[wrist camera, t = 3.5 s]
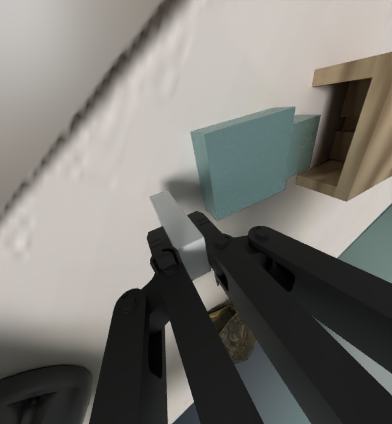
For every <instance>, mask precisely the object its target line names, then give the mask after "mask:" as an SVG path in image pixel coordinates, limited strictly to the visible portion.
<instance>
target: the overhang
mask: <svg viewBox="0 0 392 424" xmlns="http://www.w3.org/2000/svg"><path fill="white" fill-rule="evenodd" d="M345 81H350V82H349V86H348V90H347V93H346V97H345V101H344V105H343V108H342V112H341V116H346V120H345V123H344V127H343V129H342V130H339V131H337V132H336V134H335V138H334V142H333V145H332V149H331V153H330V157H329V158H330V159H332V160H330V161H328V162H326V163H323V164H321V165H319V166H317V167H314V168H312V169H310V170H308V171H306V172H303V173H301V174H299V175H297V180H296V184H297V185H300V186H303V187H306V188H309V189H312V190H314V191H317V192H320V193H323V194H326V195H329V196H332V197H335V198H338V199H340V200H343V201H346V202H347V201H348V200H350V199H352V198H354V197H355V196H357V195H359V194H361V193H362V192H364V191H366V190H368V189H370V188H371V187H373V186H375V185H377V184H378V183H380V182H382V181H384V180H385V179H387V178H389V177H391V176H392V52H389V53H385V54H381V55H377V56H372V57H368V58H364V59H360V60H355V61H351V62H347V63H343V64H338V65H334V66H330V67H325V68H321V69H317V70H315V74H314V80H313V86H320V85H326V84H332V83H339V82H345ZM313 86H312V87H313Z"/></svg>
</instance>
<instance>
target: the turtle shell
mask: <svg viewBox="0 0 392 424" xmlns="http://www.w3.org/2000/svg"><path fill="white" fill-rule="evenodd" d="M209 316H210V318H211V320H212V322H213V324H214V326H215V328H216V330H217V332H218V334H219V336H220V338H221V340H222V342H223V344H224V346H225V347H226V349H227V351H228V353H229V355H230V357H231V359H232V361H233V363H234V364H238V363H241V362H243V361H246V360H248V358H249V357H250V355H251V353H252V351H253V349H254V346H255V343H256V338H255V337H254V335H253V334H252V332H251V331H250V329H249V328H248V326H247V325H246V323H245V322H244V320H243V318H242V317H241V315H240V314H239V312H238V311H237V309H236V308H235V306H232V305H227V306H225V307H224V308H222V309H220V310H218V311H216V312H213V313H211V314H209Z"/></svg>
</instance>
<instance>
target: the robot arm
mask: <svg viewBox="0 0 392 424" xmlns="http://www.w3.org/2000/svg"><path fill="white" fill-rule="evenodd" d="M150 200H151V202H152V205H153V207H154V210H155V212H156V215H157V217H158V220H159V222H160V224H161V226H162V227H159V228H157V229H155V230H152V231H150V232H148V236H147V240H148V244H149V247H150V250H151V254H152V257H151V259H150V264H151V266H152V268H153V270H154V272H155V274H154V277H153V278H152V280H151V281H150V282H149V283H148V284H147V285H146V286H144V287H143V288H142V289H138V288H136V289H131V290H129V291H127V292H125V293H124V294H123V295H122V296H121V297H120V298H119V299H118V301H117V302H116V305H115V307H114V311H113V315H112V320H111V325H110V329H109V334H108V339H107V343H106V348H105V352H104V357H103V362H102V366H101V371H100V376H99V380H98V385H97V389H96V394H95V399H94V403H93V408H92V413H91V417H90V422H89V424H168V416H167V384H166V353H165V325H166V324H167V323H168V322H169V321H170V322H171V326H172V329H173V332H174V336H175V339H176V343H177V346H178V349H179V353H180V356H181V359H182V363H183V366H184V369H185V373H186V376H187V379H188V383H189V386H190V389H191V393H192V396H193V400H194V403H195V406H196V410H197V413H198V416H199V420H200V423H201V424H264V423H263V421H262V419H261V417H260V415H259V413H258V411H257V409H256V407H255V405H254V403H253V401H252V399H251V397H250V395H249V393H248V391H247V389H246V387H245V385H244V383H243V381H242V380H241V378H240V375H239V373H238V371H237V369H236V367H235V366H234V363H233V361H232V359H231V357H230V355H229V353H228V351H227V349H226V347H225V346H224V344H223V342H222V340H221V338H220V336H219V334H218V332H217V330H216V328H215V326H214V324H213V322H212V320H211V318H210V316H209V314H208V312H207V310H206V308H205V306H204V304H203V302H202V300H201V298H200V296H199V294H198V292H197V290H196V288H195V286H194V284H193V282H192V281H193V280H195V279H196V278H198V277H200V276H202V275H204V274H206V273H208V272H209V271H211V267H212V269H213V270H214V273H215V278H216V283H217V285H218V286H219V283H220V285H221V286H222V288H223V289H224V291H225V293H226V294H227V296H228V297H229V299H230V300H231V302H232V303H233V305H234V306H235V308H236V309H237V311H238V312H239V314H240V315H241V317H242V318H243V320H244V322H245V323H246V325H247V326H248V328H249V329H250V331H251V332H252V334H253V335H254V337H255V338H256V340H257V341H258V343H259V344H260V346H261V348H262V349H263V350H264V352H265V354H266V355H267V357H268V358H269V360H270V361H271V363H272V364H273V366H274V367H275V369H276V370H277V372H278V373H279V375H280V376H281V378H282V380H283V381H284V383H285V384H286V386H287V387H288V389H289V390H290V392H291V393H292V395H293V396H294V398H295V399H296V401H297V403H298V404H299V406H300V407H301V409H302V410H303V412H304V413H305V415H306V416H307V418H308V419H309V421H310V422H311V424H392V395H391V394H390V393H389V392H388V391H387V390H386V389H385V388H384V387H383V386H381V384H380V383H378V381H376V379H375V378H374V377H373V376H372V375H370V374H369V373H368V372H367V371H366V370H365V369H364V368H363V367H362V366H361V365H360V364H359V363H358V362H357V361H356V360H355V359H354V358H353V357H352V356H351V355H350V354H349V353H348V352H347V351H346V350H345V349H344V348H343V347H342V346H341V345H340V344H339V343H338V342H337V341H336V340H335V339H334V338H333V337H332V336H331V335H330V334H329V333H328V332H327V331H326V330H325V329H324V328H323V327H322V326H321V325H320V324H319V323H318V322H317V321H316V320H315V319H314V318H316V319H317V320H319V321H320V322H321V323H323V324H324V325H325V326H327V327H328V328H329V329H331V330H332V331H334V332H335V333H336V334H338V335H339V336H341V337H342V338H343V339H345V340H346V341H347V342H349V343H350V344H352V345H353V346H355V347H356V348H357V349H359V350H360V351H361V352H363V353H364V354H365V355H367V356H368V357H370V358H371V359H373V360H374V361H375V362H377V363H378V364H379V365H381V366H382V367H384V368H385V369H386V370H388V371H389V372H390V373H392V283H389V282H387V281H385V280H383V279H381V278H378V277H376V276H374V275H372V274H370V273H368V272H365V271H363V270H361V269H359V268H356V267H354V266H352V265H350V264H348V263H346V262H343V261H341V260H339V259H337V258H335V257H332V256H330V255H328V254H326V253H324V252H321V251H319V250H317V249H315V248H313V247H310V246H308V245H306V244H304V243H302V242H300V241H297V240H295V239H293V238H291V237H289V236H286V235H284V234H282V233H280V232H278V231H275V230H273V229H271V228H269V227H265V226H256V227H253V228H251V229H250V230H249V232H248V235H247V236H242V237H235V238H233V237H231V236H229V235H227V234H222V233H221V232H220V231H219V230H218V229H217V228H216V227H215V225H214V224H213V223H212V222H211V221H210V220H209V219H208V218H207V217H206V216H205V215H204V214H203V213H201V212H198V211H196V212H194V213H191V214H189V215H186V214H185V212H184V211H183V210H182V208H181V207H180V206H179V205H178V203H177V202H176V201H175V200H174V198H173V197H172V196H171V194H170V193H169V192H168V191H167V190H166V191H164V192H161V193H158V194H155V195H153V196H150ZM210 266H211V267H210ZM312 316H313V317H314V318H313V317H312ZM91 386H92V375H91V373H90V372H89V371H88V370H86V369H84V368H81V367H77V366H55V367H48V368H42V369H37V370H33V371H29V372H25V373H22V374H19V375H16V376H13V377H10V378H7V379H4V380H2V381H0V424H83V421H84V418H85V414H86V411H87V407H88V405H89V402H90V397H91Z"/></svg>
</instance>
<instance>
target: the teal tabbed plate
mask: <svg viewBox="0 0 392 424" xmlns="http://www.w3.org/2000/svg"><path fill="white" fill-rule="evenodd" d="M294 114H295V107H283V108H271V109H267V110H264V111H260V112H257V113H253V114H250V115H246V116H243V117H240V118H236V119H233V120H229V121H226V122H222V123H219V124H215V125H212V126H208V127H205V128H202V129H198V130H195V131H191V132H190V133H191V138H192V143H193V148H194V154H195V159H196V164H197V169H198V174H199V180H200V185H201V190H202V195H203V200H204V206H205V210H206V211H207V212H208V213H209V214H210V215H211V216H213V217H214V218H215V219H216V220H217V221H218V220H220V219H222V218H224V217H227V216H229V215H231V214H233V213H235V212H237V211H240V210H242V209H244V208H246V207H248V206H250V205H252V204H255V203H257V202H259V201H261V200H263V199H265V198H268V197H270V196H272V195H274V194H276V193H278V192H281V191H283V190H285V184H286V178H289V177H291V176H293V175H296V174H298V173H300V172H302V171H305V170H307V169H309V168H310V164H311V159H312V154H313V150H314V145H315V140H316V135H317V130H318V125H319V121H320V116H321V115H295V116H294Z"/></svg>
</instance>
